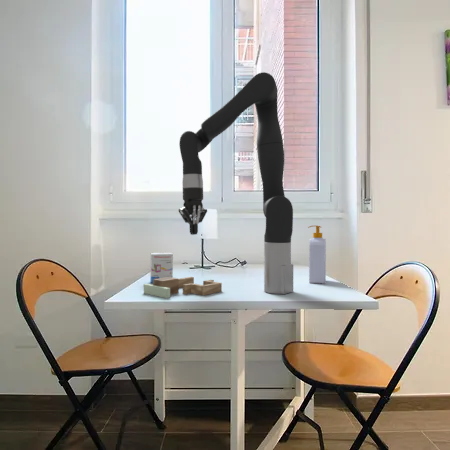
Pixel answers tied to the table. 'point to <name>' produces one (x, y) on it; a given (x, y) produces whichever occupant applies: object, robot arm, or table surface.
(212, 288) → the wooden maze walls
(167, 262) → the ink box
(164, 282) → the walnut block
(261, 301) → the table surface
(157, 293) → the wall
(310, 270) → the soap bottle
